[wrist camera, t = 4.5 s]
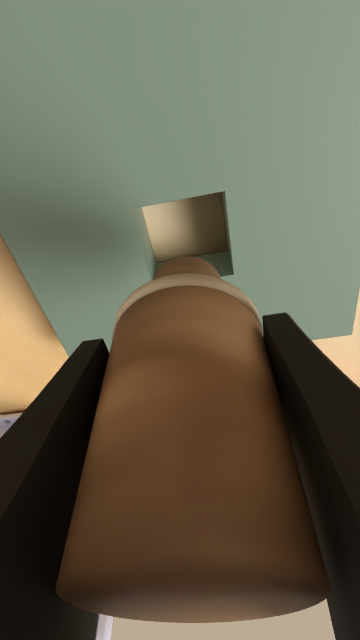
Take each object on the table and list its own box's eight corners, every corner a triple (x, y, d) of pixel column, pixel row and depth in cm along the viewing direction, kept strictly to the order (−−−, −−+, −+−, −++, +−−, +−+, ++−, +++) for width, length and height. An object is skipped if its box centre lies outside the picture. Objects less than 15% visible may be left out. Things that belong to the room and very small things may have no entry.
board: (86, 343, 22) (76, 370, 20) (-106, -43, 11) (-165, -62, 9) (335, 307, 20) (351, 334, 18) (396, -203, 9) (451, -268, 7)
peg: (145, 340, 14) (110, 626, 7) (107, 245, 11) (-8, 566, 4) (252, 322, 14) (326, 619, 7) (241, 217, 11) (347, 543, 4)
